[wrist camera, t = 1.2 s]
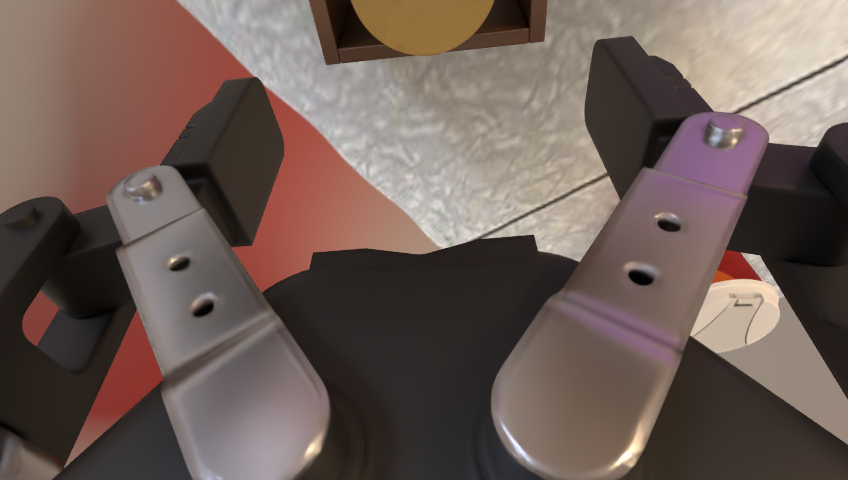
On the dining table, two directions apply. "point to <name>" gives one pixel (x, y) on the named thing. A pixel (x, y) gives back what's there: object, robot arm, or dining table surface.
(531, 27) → the chest
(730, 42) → the dining table surface
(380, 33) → the tea tin
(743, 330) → the coffee cup
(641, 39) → the dining table surface
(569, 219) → the dining table surface
